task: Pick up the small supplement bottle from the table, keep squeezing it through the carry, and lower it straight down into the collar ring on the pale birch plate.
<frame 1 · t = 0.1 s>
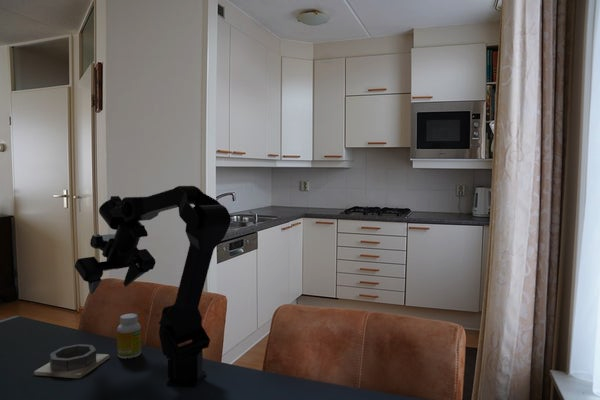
hand: (108, 289, 110), 15 cm above the table, tool tilted 35°, fingers open, 9 cm apart
collar: (73, 365, 99), on the table
supplement bottle: (129, 355, 106), on the table
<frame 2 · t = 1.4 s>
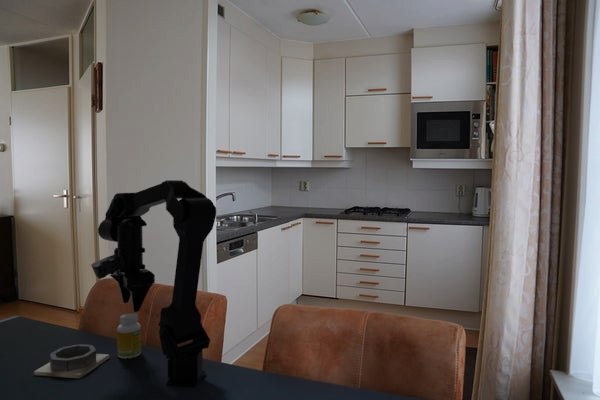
hand: (130, 307, 105), 12 cm above the table, tool pointing down, fingers open, 9 cm apart
nothing on the table moved.
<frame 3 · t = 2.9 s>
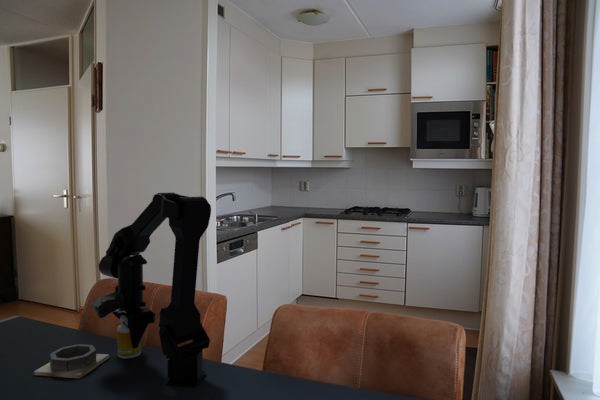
hand: (131, 343, 106), 3 cm above the table, tool pointing down, fingers closed on supplement bottle, 6 cm apart
supplement bottle: (129, 355, 106), on the table, touching gripper
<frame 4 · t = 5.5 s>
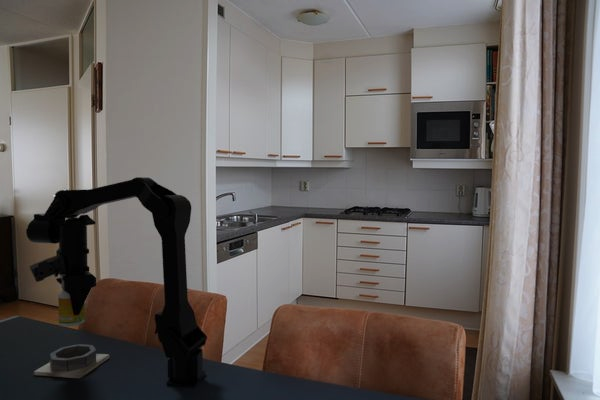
hand: (74, 311, 99), 13 cm above the table, tool pointing down, fingers closed on supplement bottle, 5 cm apart
supplement bottle: (72, 323, 98), point 10 cm above the table, touching gripper
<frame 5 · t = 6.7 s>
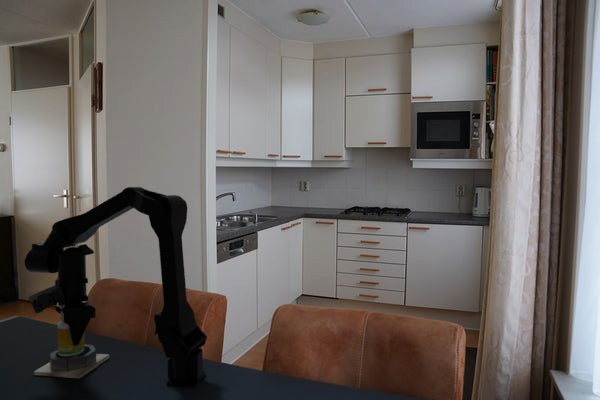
hand: (73, 341, 99), 6 cm above the table, tool pointing down, fingers closed on supplement bottle, 5 cm apart
supplement bottle: (71, 353, 98), point 3 cm above the table, touching gripper
when the fingers open (5 cm above the table, at t = 7.7 s): supplement bottle drops 1 cm, resting on collar.
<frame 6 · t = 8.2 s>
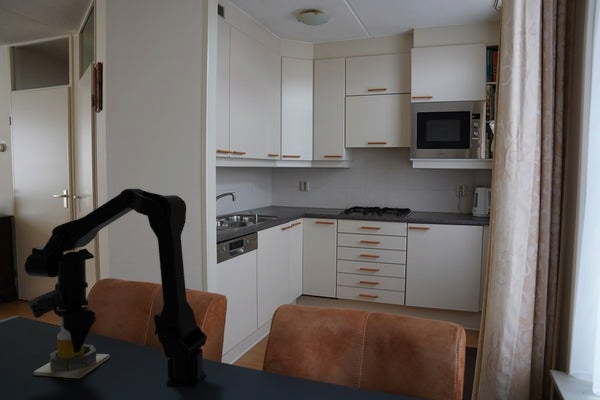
hand: (73, 345, 99), 5 cm above the table, tool pointing down, fingers open, 9 cm apart
supplement bottle: (71, 364, 99), point 1 cm above the table, touching collar
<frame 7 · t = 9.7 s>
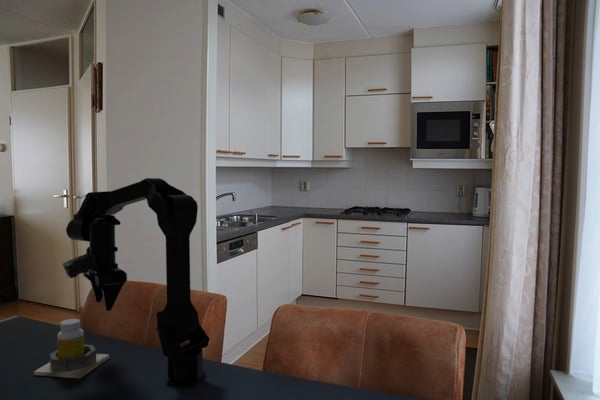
hand: (103, 306, 105), 12 cm above the table, tool pointing down, fingers open, 9 cm apart
nothing on the table moved.
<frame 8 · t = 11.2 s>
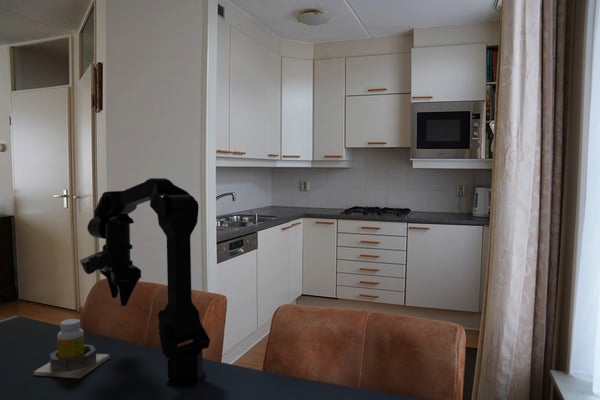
hand: (118, 301, 109), 12 cm above the table, tool pointing down, fingers open, 9 cm apart
nothing on the table moved.
at the end: supplement bottle 0.5 cm off-centre on the collar, point 0.6 cm above the collar's base; supplement bottle tilted 0°; the gripper is holding nothing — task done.
